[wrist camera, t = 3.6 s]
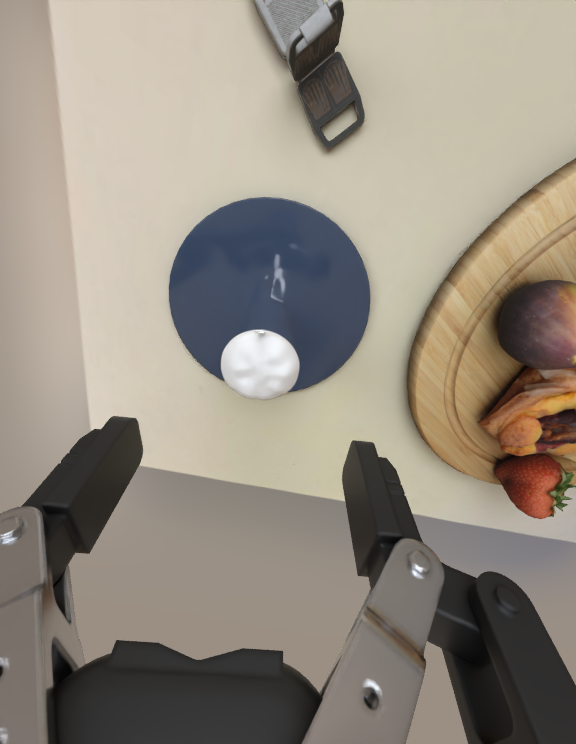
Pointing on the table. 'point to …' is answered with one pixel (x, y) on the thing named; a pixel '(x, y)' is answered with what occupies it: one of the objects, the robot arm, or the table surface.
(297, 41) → the strap clip
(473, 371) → the wooden plate
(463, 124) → the table surface
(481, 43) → the table surface
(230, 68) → the table surface
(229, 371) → the milkshake
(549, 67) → the table surface
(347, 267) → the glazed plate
